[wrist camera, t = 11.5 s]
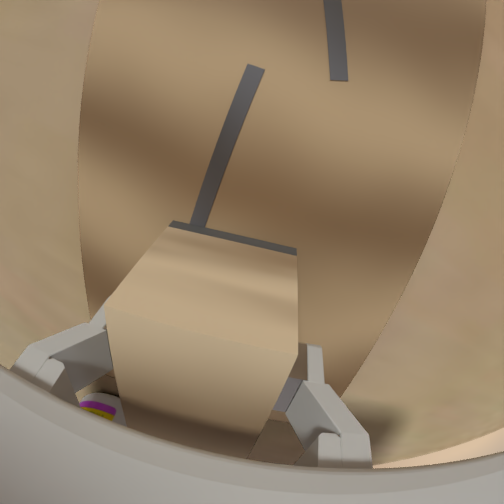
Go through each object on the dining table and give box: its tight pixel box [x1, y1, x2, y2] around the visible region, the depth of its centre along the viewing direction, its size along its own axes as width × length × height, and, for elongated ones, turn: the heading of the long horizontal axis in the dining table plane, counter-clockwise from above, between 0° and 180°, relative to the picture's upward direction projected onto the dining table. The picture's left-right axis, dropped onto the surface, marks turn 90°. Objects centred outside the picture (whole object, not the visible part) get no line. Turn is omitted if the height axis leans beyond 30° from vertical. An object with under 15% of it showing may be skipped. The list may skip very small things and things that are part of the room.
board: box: [78, 0, 486, 423], centre depth 9 cm, size 24×12×1 cm, turn 169°
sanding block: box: [104, 220, 298, 459], centre depth 9 cm, size 7×4×4 cm, turn 168°
